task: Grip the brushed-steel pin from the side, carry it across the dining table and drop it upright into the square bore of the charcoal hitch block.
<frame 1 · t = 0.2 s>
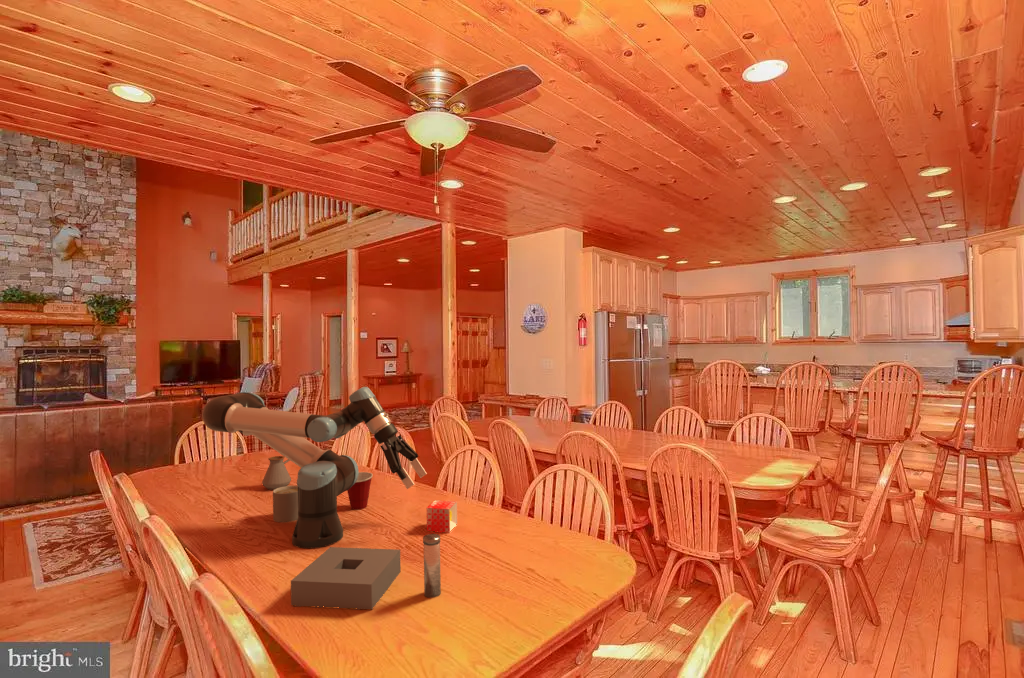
hand: (417, 481, 174), 15 cm above the table, tool tilted 35°, fingers open, 13 cm apart
hitch block: (349, 587, 133), on the table
coffee mug: (292, 516, 188), on the table
steel pin: (432, 593, 129), on the table
coffee pot: (288, 485, 228), on the table
plastic cup: (358, 507, 196), on the table
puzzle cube: (442, 528, 174), on the table
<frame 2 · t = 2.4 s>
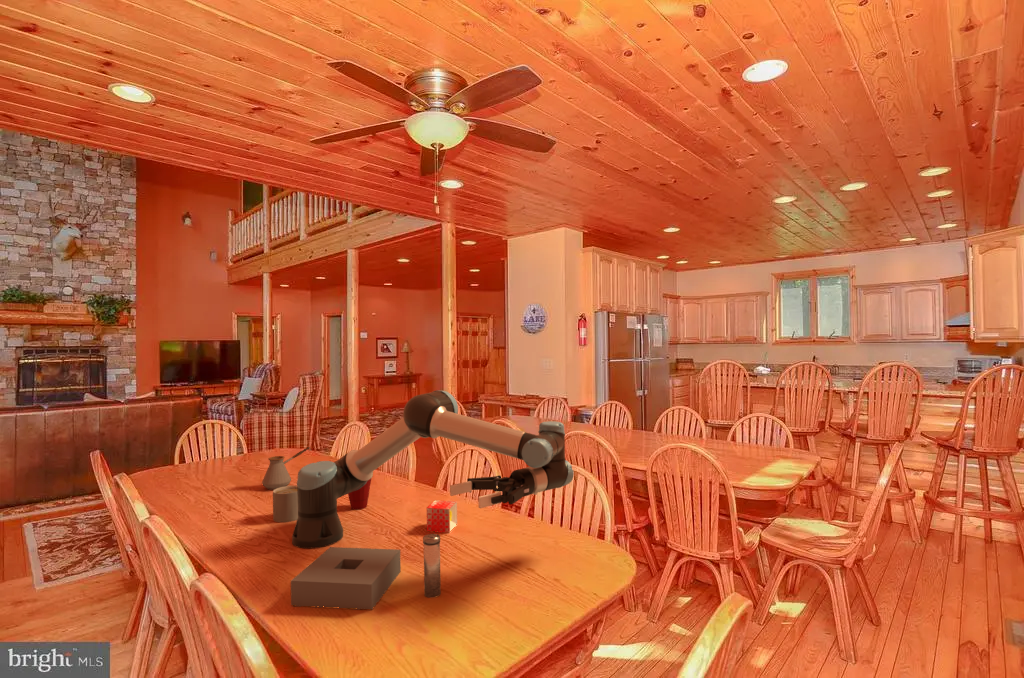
hand: (464, 496, 135), 22 cm above the table, tool horizontal, fingers open, 13 cm apart
nothing on the table moved.
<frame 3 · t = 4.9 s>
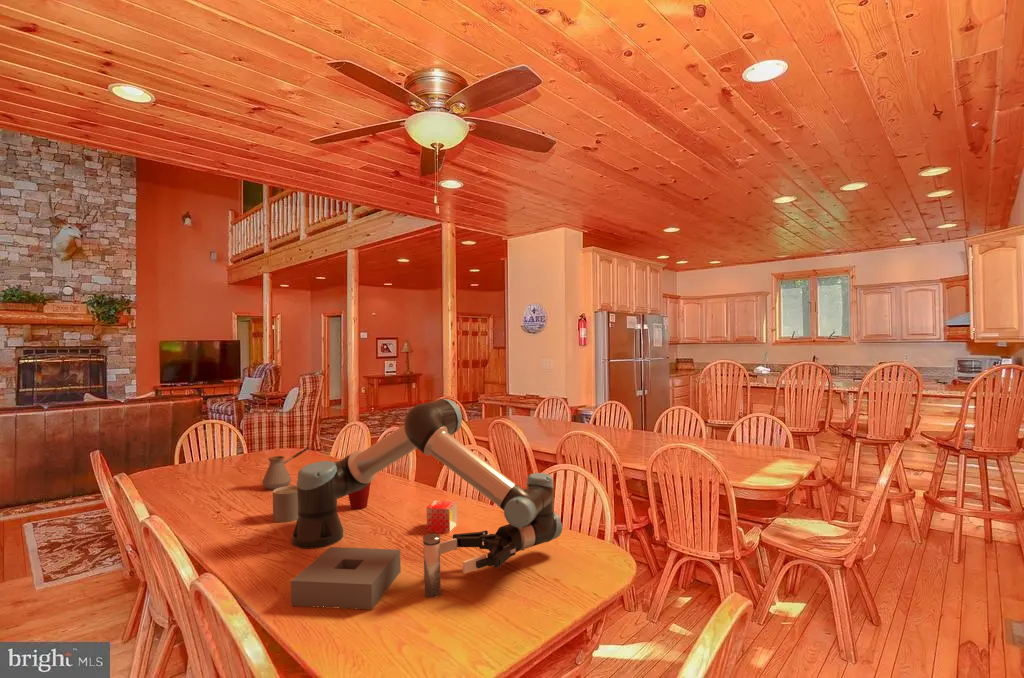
hand: (448, 558, 131), 8 cm above the table, tool horizontal, fingers open, 13 cm apart
nothing on the table moved.
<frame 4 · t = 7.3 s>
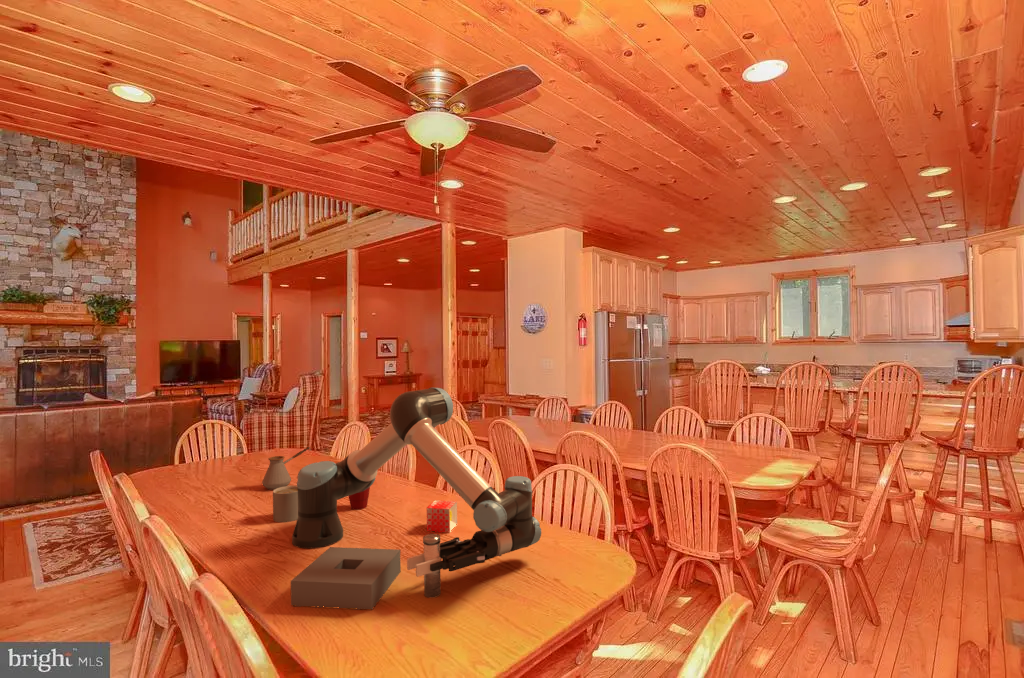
hand: (412, 567, 126), 8 cm above the table, tool horizontal, fingers closed on steel pin, 4 cm apart
steel pin: (432, 593, 129), on the table, touching gripper
everything else where it was.
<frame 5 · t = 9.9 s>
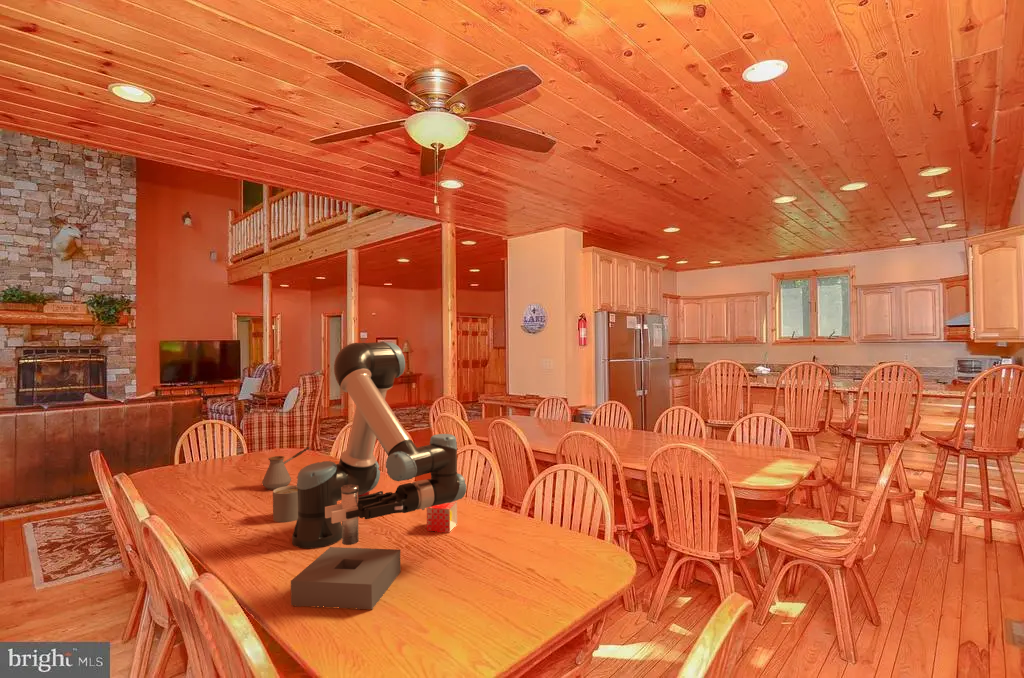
hand: (328, 515, 129), 20 cm above the table, tool horizontal, fingers closed on steel pin, 4 cm apart
steel pin: (350, 541, 132), point 12 cm above the table, touching gripper
everything else where it was.
when the fingers open (12 cm above the table, at t = 12.5 s): steel pin drops 4 cm, resting in hitch block.
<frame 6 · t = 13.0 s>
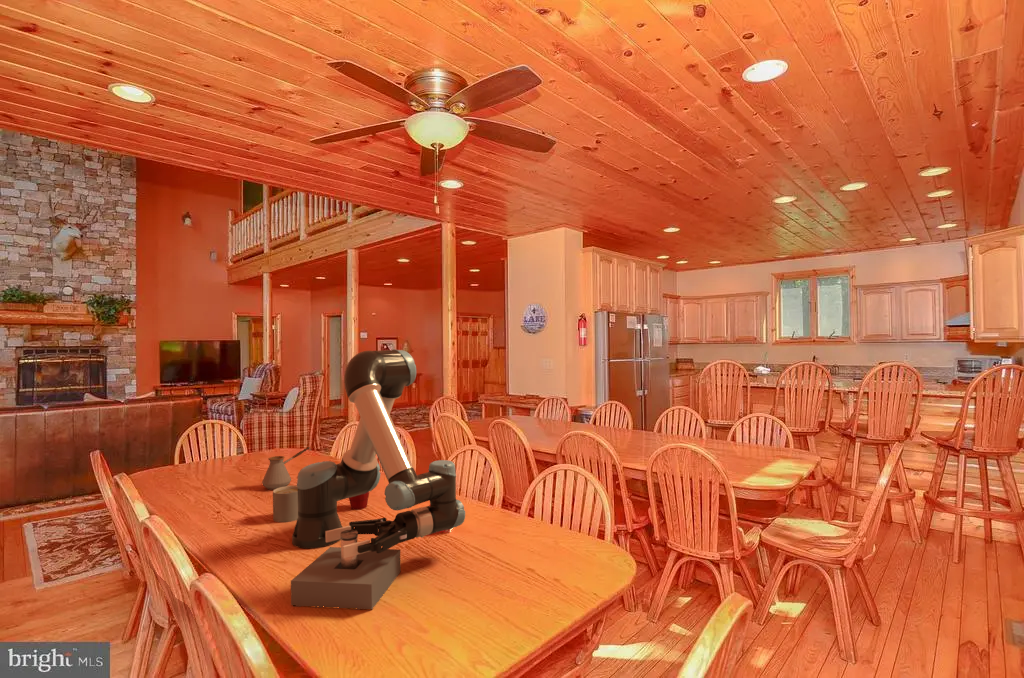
hand: (334, 544, 130), 12 cm above the table, tool horizontal, fingers open, 12 cm apart
steel pin: (349, 587, 133), resting in hitch block
everything else where it was.
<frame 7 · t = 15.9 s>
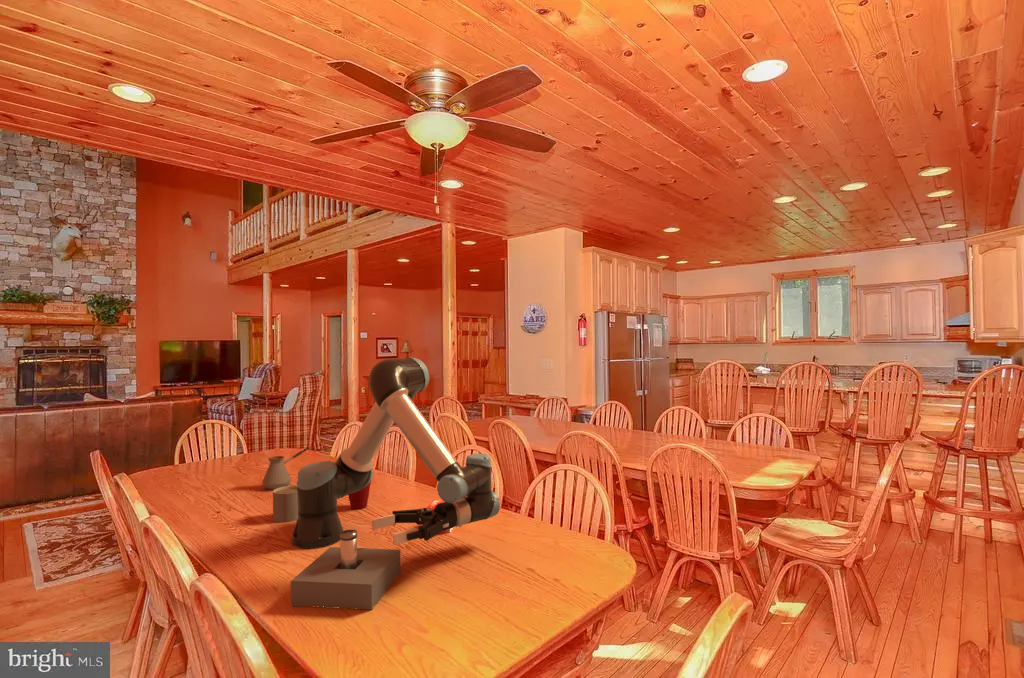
hand: (382, 531, 138), 12 cm above the table, tool horizontal, fingers open, 13 cm apart
nothing on the table moved.
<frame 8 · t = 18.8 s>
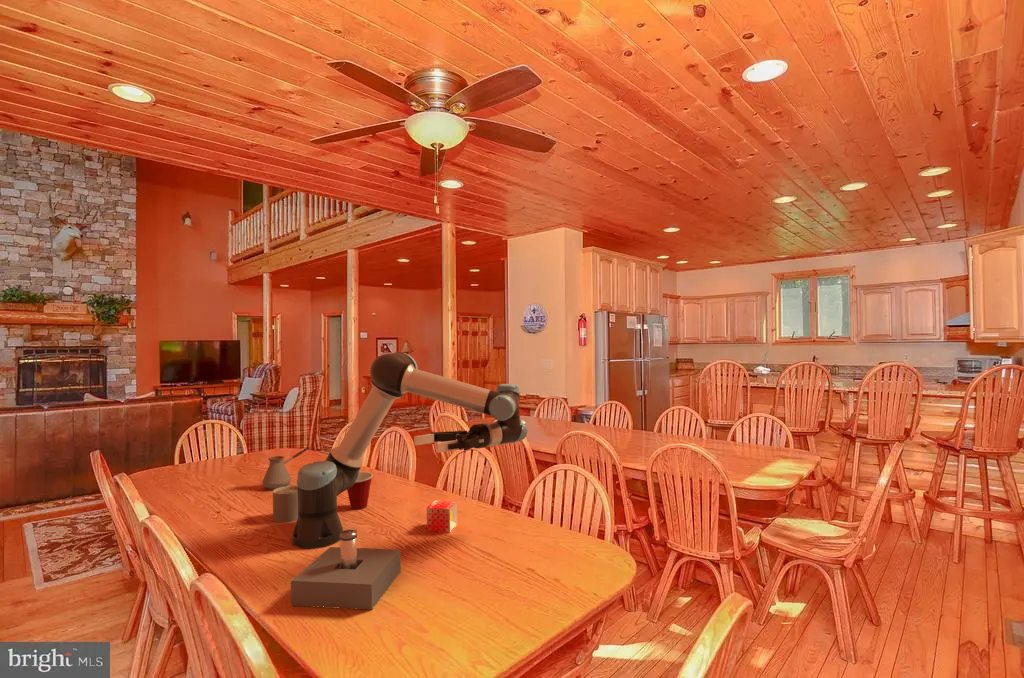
hand: (425, 444, 153), 32 cm above the table, tool horizontal, fingers open, 13 cm apart
nothing on the table moved.
at the end: steel pin 0.1 cm off-centre on the hitch block, point 0.0 cm above the hitch block's base; steel pin tilted 0°; the gripper is holding nothing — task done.
